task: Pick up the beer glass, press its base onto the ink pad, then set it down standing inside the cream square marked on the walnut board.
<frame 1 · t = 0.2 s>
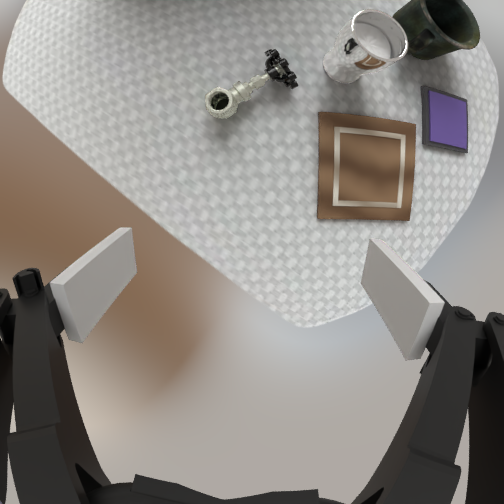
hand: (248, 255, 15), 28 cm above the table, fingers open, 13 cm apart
beer glass: (342, 66, 33), on the table
mug: (410, 39, 30), on the table
valve: (247, 92, 35), on the table
ink pad: (444, 120, 34), on the table
board: (368, 167, 39), on the table
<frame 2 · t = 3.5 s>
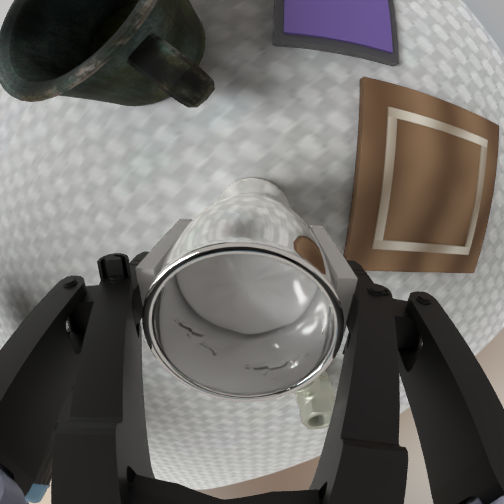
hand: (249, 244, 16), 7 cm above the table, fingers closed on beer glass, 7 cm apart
beer glass: (252, 214, 22), on the table, touching gripper
mug: (160, 61, 18), on the table
valve: (297, 354, 28), on the table
ink pad: (334, 5, 15), on the table
board: (432, 186, 21), on the table
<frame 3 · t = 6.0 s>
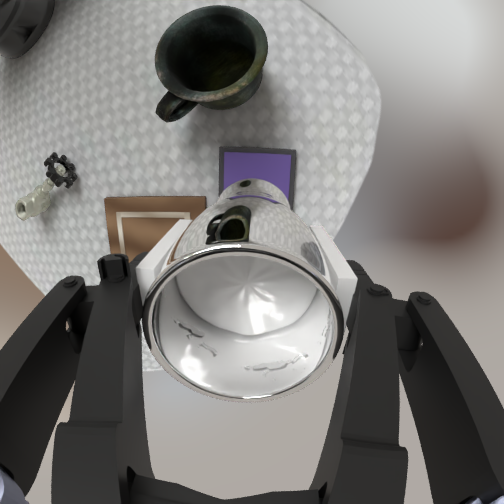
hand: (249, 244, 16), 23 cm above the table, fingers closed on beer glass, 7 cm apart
beer glass: (252, 214, 22), point 16 cm above the table, touching gripper
mug: (215, 84, 32), on the table
valve: (55, 186, 38), on the table
ink pad: (256, 183, 38), on the table
board: (156, 247, 42), on the table
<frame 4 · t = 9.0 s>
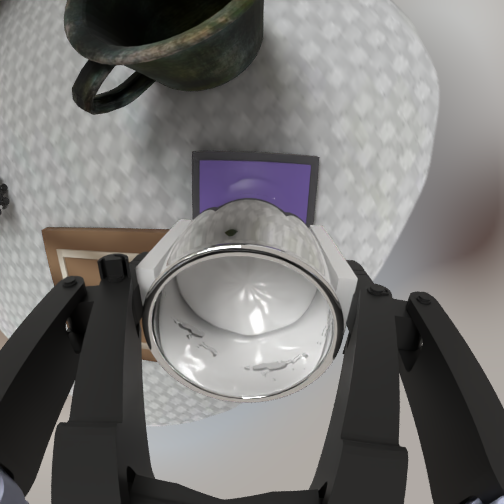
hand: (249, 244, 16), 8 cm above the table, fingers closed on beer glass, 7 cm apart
beer glass: (252, 214, 22), point 1 cm above the table, touching gripper, ink pad
mug: (189, 53, 19), on the table
ink pad: (253, 210, 24), on the table
board: (113, 297, 28), on the table
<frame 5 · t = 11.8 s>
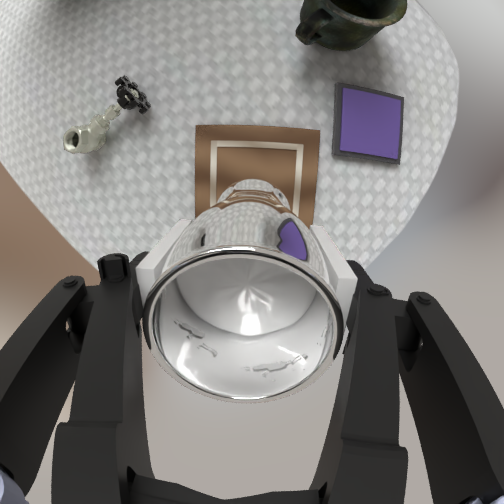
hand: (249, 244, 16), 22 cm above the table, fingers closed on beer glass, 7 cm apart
beer glass: (252, 215, 22), point 16 cm above the table, touching gripper
mug: (327, 28, 28), on the table
valve: (115, 121, 34), on the table
ink pad: (367, 123, 33), on the table
board: (255, 184, 37), on the table
when the fingers open (9 cm above the table, at t = 14.5 s): beer glass drops 1 cm, resting on board.
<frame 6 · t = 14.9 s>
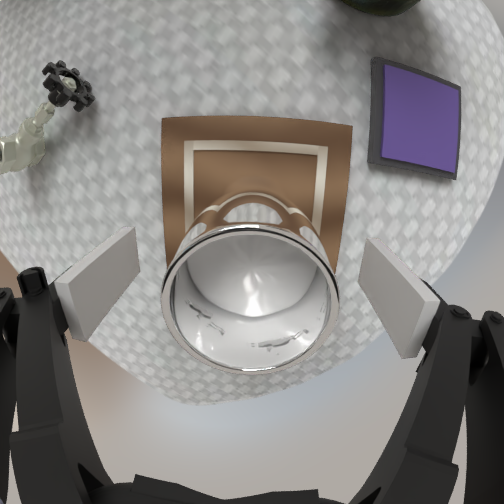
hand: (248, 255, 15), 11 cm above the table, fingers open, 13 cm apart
beer glass: (254, 209, 24), point 1 cm above the table, touching board
valve: (55, 124, 22), on the table
ink pad: (416, 120, 21), on the table
board: (253, 207, 25), on the table
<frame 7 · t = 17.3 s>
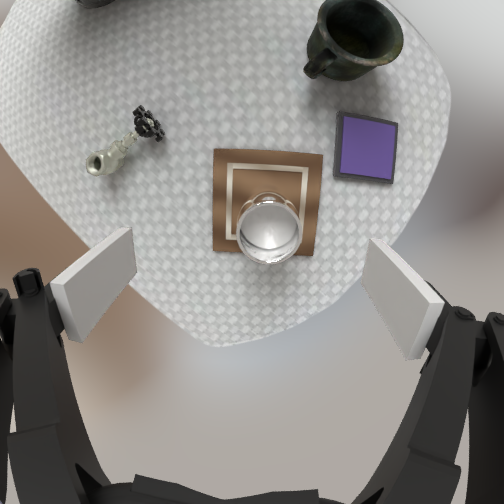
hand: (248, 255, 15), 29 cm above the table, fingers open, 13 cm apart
beer glass: (266, 203, 42), point 1 cm above the table, touching board
mug: (331, 59, 34), on the table
valve: (132, 145, 40), on the table
ink pad: (365, 147, 39), on the table
board: (265, 202, 42), on the table
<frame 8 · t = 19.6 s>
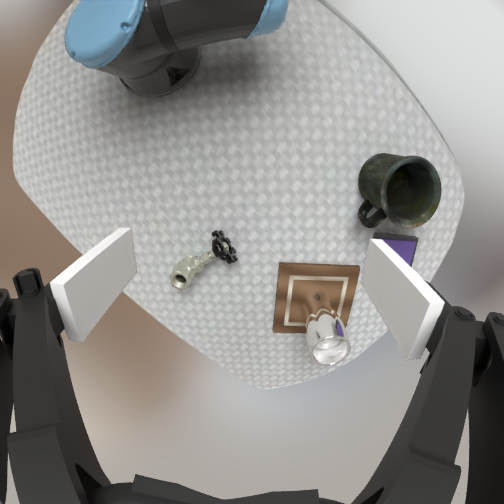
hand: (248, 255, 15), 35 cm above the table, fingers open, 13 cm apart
beer glass: (315, 301, 55), point 1 cm above the table, touching board
mug: (375, 185, 47), on the table
valve: (203, 254, 53), on the table
ink pad: (390, 257, 52), on the table
board: (314, 299, 56), on the table
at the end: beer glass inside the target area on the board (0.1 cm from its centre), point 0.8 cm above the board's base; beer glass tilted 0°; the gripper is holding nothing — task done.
